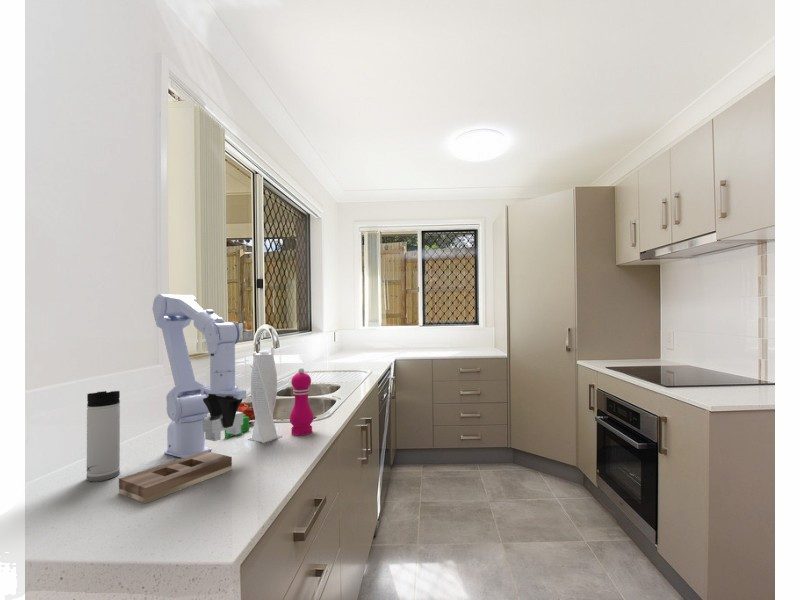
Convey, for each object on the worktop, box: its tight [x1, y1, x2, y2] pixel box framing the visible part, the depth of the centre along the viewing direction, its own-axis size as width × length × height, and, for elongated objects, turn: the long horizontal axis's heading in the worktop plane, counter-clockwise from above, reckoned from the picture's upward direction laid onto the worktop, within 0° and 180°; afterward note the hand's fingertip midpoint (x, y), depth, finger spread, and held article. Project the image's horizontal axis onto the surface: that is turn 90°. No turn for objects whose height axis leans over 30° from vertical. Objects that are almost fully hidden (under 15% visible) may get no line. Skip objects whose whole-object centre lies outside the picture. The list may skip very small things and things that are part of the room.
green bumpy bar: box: [224, 414, 250, 439], centre depth 131 cm, size 11×4×5 cm, turn 174°
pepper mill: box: [289, 367, 314, 436], centre depth 130 cm, size 7×7×20 cm
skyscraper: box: [247, 345, 283, 444], centre depth 124 cm, size 8×8×28 cm
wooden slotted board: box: [118, 451, 233, 504], centre depth 94 cm, size 10×20×3 cm, turn 150°
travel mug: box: [86, 390, 121, 483], centre depth 97 cm, size 6×7×20 cm
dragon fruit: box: [237, 401, 255, 425], centre depth 141 cm, size 8×8×12 cm
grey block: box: [203, 412, 243, 442], centre depth 104 cm, size 4×9×5 cm, turn 151°
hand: (223, 426), depth 104 cm, fingers closed on grey block, 3 cm apart
